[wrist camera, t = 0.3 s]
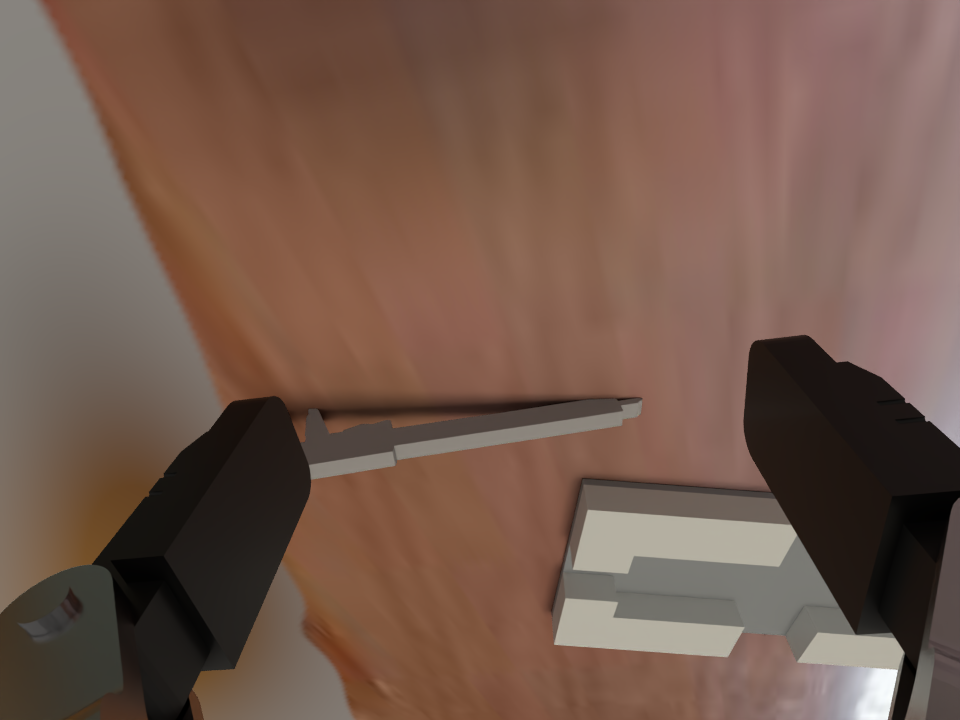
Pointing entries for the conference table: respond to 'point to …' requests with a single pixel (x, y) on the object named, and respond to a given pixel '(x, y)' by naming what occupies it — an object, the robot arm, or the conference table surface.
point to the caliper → (451, 434)
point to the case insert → (698, 577)
